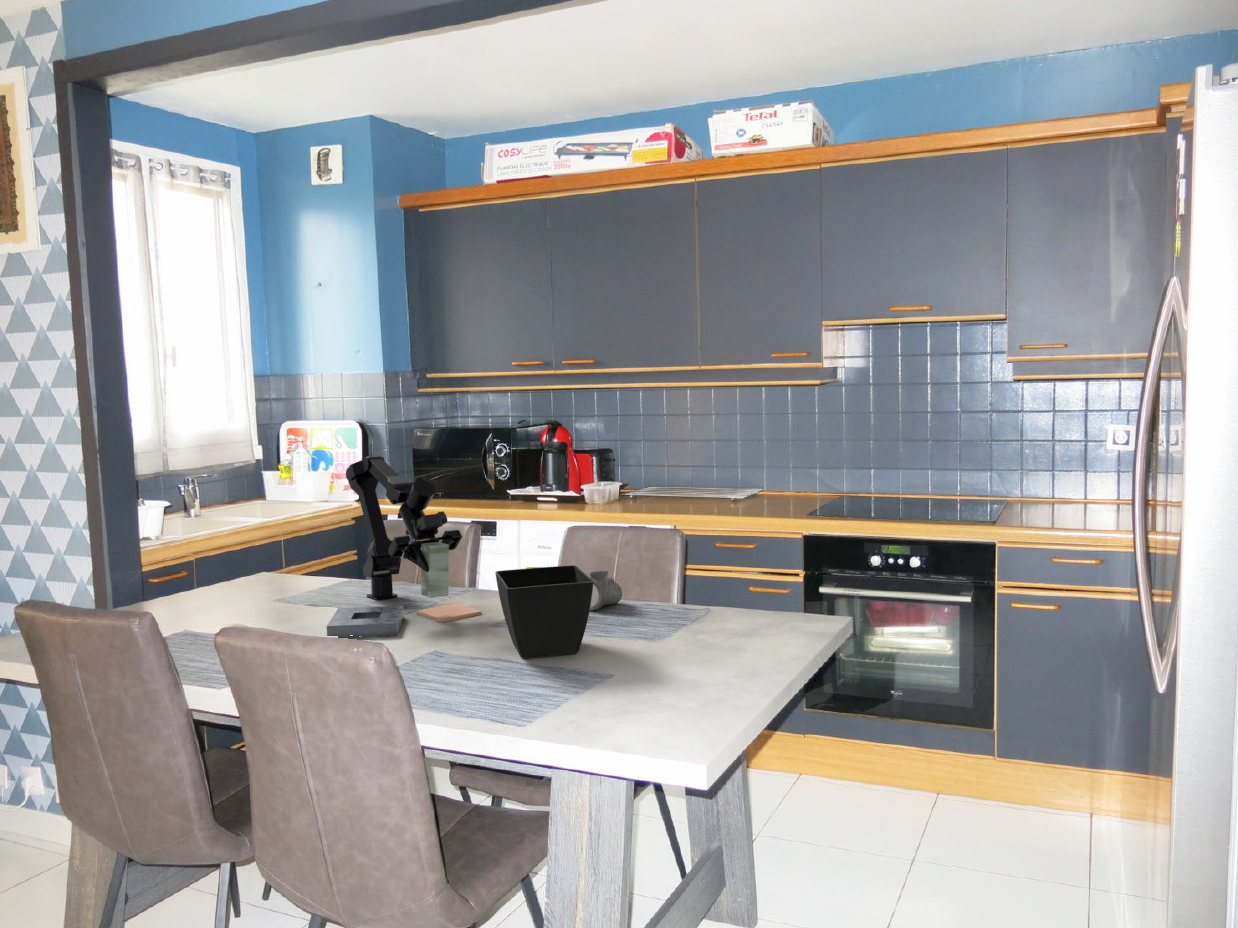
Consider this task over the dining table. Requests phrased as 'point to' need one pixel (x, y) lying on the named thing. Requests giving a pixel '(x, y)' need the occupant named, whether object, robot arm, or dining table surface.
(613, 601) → the pipe fitting
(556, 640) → the flower pot
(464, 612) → the terracotta pad
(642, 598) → the dining table surface
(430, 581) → the square plug
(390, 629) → the socket plate
